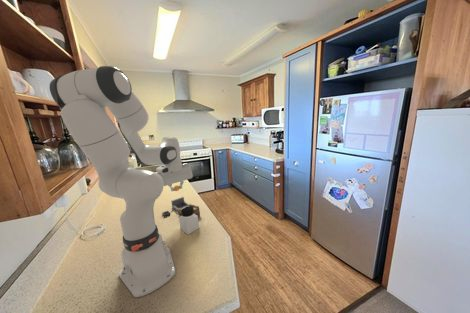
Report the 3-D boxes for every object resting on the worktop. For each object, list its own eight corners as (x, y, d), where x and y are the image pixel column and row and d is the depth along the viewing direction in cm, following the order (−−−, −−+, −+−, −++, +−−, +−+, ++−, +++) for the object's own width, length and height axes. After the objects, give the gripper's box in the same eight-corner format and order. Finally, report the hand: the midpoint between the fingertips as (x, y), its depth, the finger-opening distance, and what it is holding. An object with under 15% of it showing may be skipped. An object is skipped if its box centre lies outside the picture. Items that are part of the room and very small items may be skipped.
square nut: (170, 215, 106) (170, 212, 106) (164, 217, 104) (164, 215, 104) (168, 212, 109) (167, 210, 109) (162, 215, 107) (162, 212, 106)
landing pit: (190, 208, 112) (189, 201, 111) (178, 213, 107) (177, 205, 106) (183, 203, 120) (182, 196, 119) (172, 207, 115) (171, 200, 114)
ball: (178, 191, 99) (178, 186, 98) (173, 192, 99) (172, 186, 98) (180, 189, 102) (179, 184, 101) (174, 189, 102) (174, 184, 101)
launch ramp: (200, 216, 103) (199, 206, 102) (187, 221, 98) (186, 212, 97) (190, 208, 112) (189, 200, 111) (178, 213, 107) (177, 204, 106)
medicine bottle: (199, 228, 92) (197, 206, 89) (187, 235, 87) (184, 212, 84) (191, 223, 97) (189, 202, 94) (180, 229, 91) (177, 208, 89)
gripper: (188, 161, 106) (190, 183, 109) (152, 169, 93) (156, 193, 96) (193, 163, 102) (195, 185, 105) (156, 171, 89) (160, 197, 91)
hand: (176, 189), depth 100 cm, fingers closed on ball, 3 cm apart
